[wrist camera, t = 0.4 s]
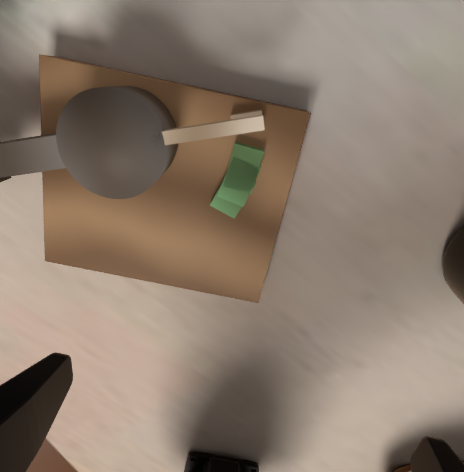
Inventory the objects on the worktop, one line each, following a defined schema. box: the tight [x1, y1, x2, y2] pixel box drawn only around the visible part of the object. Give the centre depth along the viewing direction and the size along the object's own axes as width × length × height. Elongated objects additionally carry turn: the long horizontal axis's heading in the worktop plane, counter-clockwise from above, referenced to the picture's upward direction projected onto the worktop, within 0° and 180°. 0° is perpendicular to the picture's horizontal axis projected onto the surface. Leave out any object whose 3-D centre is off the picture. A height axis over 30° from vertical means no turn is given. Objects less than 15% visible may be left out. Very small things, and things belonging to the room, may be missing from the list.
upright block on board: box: [0, 86, 265, 199], centre depth 14 cm, size 20×5×11 cm, turn 99°
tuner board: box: [39, 55, 311, 303], centre depth 21 cm, size 12×14×2 cm
